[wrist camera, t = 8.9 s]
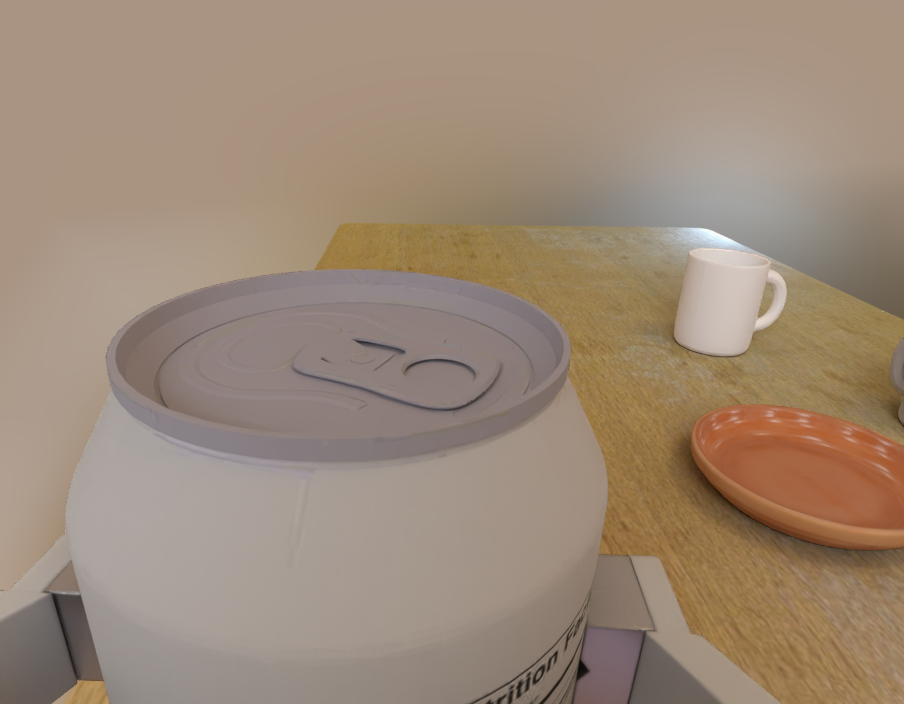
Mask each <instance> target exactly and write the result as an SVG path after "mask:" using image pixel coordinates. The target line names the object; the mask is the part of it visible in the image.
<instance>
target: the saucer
mask: <svg viewBox="0 0 904 704" xmlns="http://www.w3.org/2000/svg"><path fill="white" fill-rule="evenodd" d="M691 452H692V455H693V458H694V460H695V462H696V464H697V466H698V467H699V469H700V470H701V471H702V473H703V474H704V475H705V477H706V478H707V479H708V480H709V482H710V483H711V484H712V485H713V486H714V487H715V488H716V489H717V490H718V491H719V492H720V493H721V494H722V495H723V496H724V497H725V498H726V499H727V500H728V501H729V502H730V503H731V504H733V505H734V506H735V507H736V508H738V509H739V510H741V511H742V512H743V513H745V514H746V515H748V516H749V517H751V518H753V519H755V520H756V521H758V522H760V523H762V524H764V525H766V526H768V527H770V528H772V529H774V530H777V531H779V532H782V533H784V534H787V535H789V536H792V537H795V538H798V539H801V540H804V541H807V542H811V543H815V544H819V545H824V546H828V547H834V548H840V549H850V550H879V549H893V548H902V547H904V446H903V445H901V444H899V443H897V442H895V441H894V440H892V439H890V438H888V437H886V436H883V435H881V434H879V433H877V432H874V431H872V430H870V429H867V428H865V427H862V426H860V425H857V424H854V423H851V422H848V421H845V420H842V419H839V418H836V417H832V416H828V415H825V414H821V413H817V412H812V411H808V410H803V409H798V408H791V407H784V406H775V405H762V404H747V405H734V406H727V407H723V408H719V409H716V410H713V411H711V412H708V413H707V414H705V415H703V416H702V417H700V418H699V419H698V420H697V422H696V423H695V424H694V426H693V429H692V432H691Z"/></svg>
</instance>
